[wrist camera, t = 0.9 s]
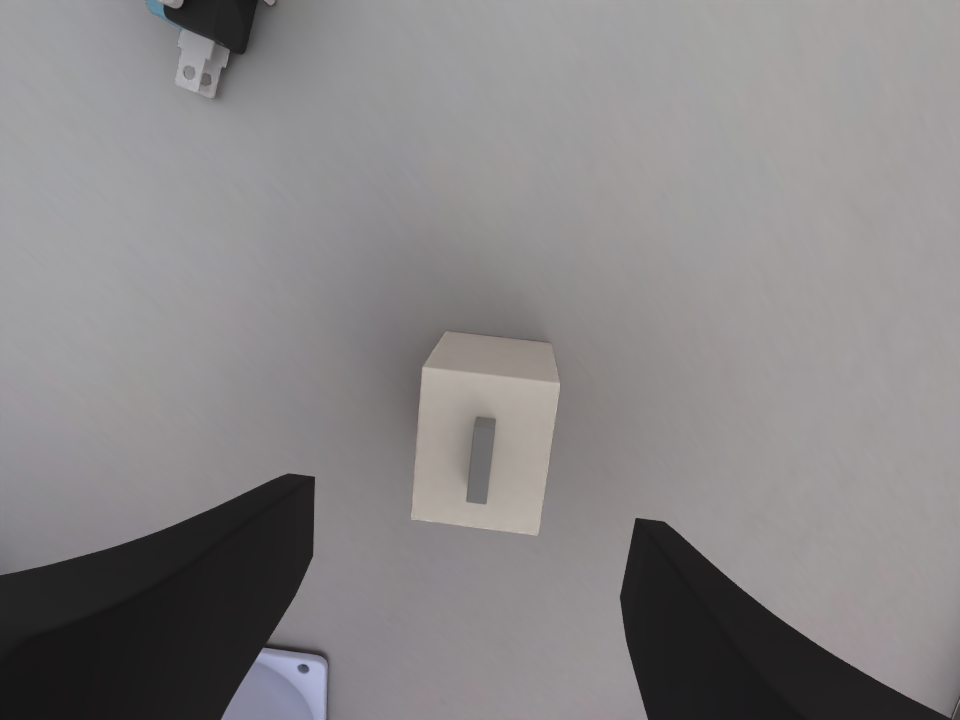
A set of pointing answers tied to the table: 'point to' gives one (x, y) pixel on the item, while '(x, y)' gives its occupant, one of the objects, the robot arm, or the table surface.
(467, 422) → the block
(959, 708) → the book
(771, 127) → the table surface
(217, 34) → the push button
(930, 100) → the table surface
